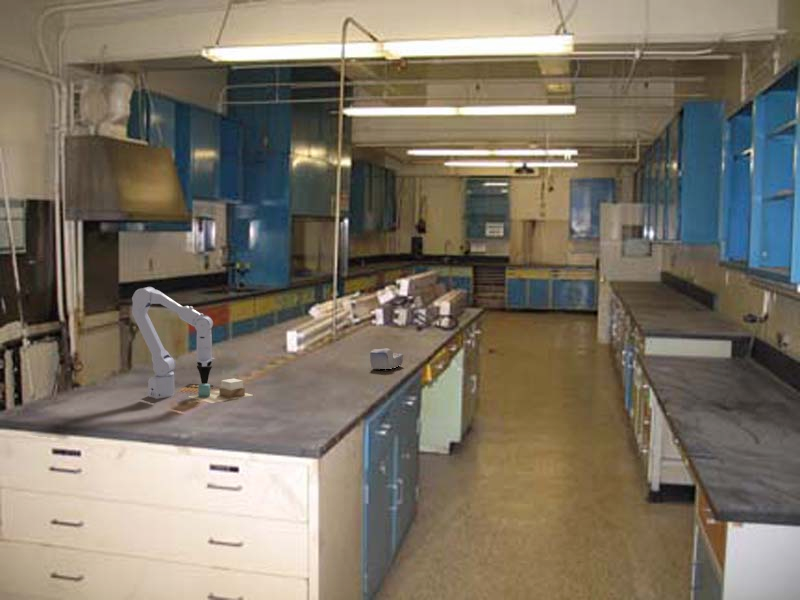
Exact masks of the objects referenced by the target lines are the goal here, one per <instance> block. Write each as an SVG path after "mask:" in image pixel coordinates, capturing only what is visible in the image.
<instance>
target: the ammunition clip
mask: <svg viewBox="0 0 800 600" xmlns="http://www.w3.org/2000/svg"><path fill="white" fill-rule="evenodd" d="M199 384H200V383H188V384H187V385H185V386H184V387H183V388H181V389H180V390H179V391H178V392H177V393H181V394H184V393H186V394H189V393H190V395H191V394H193V395H197V394H198V385H199ZM212 389H214V384H213V385H212V384H210V390H212Z"/></svg>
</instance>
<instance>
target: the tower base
mask: <svg viewBox="0 0 800 600" xmlns="http://www.w3.org/2000/svg"><path fill="white" fill-rule="evenodd" d="M245 389H246V388H245V387H243V388H240V389H235V390H227V389H223V388H221V387H219V390H218V391H219V395H220V396H224V397H228V398H234V397H239V396H244V395H245V393H246V392H245V391H246V390H245Z"/></svg>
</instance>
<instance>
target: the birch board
mask: <svg viewBox="0 0 800 600" xmlns="http://www.w3.org/2000/svg"><path fill="white" fill-rule="evenodd" d="M251 396H253V394H251V393H247V392H245V395H244V396H239V397H234V398H228V397H224V396H220V395H219V390H216V391H210V397H199V396H198V394H192V395H188V398H190V399H191V398H192V399H196V400H199V401H202V402H207V403H210V404H214V403H220V402H225V401H231V400H236V399H241V398H248V397H251Z"/></svg>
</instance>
